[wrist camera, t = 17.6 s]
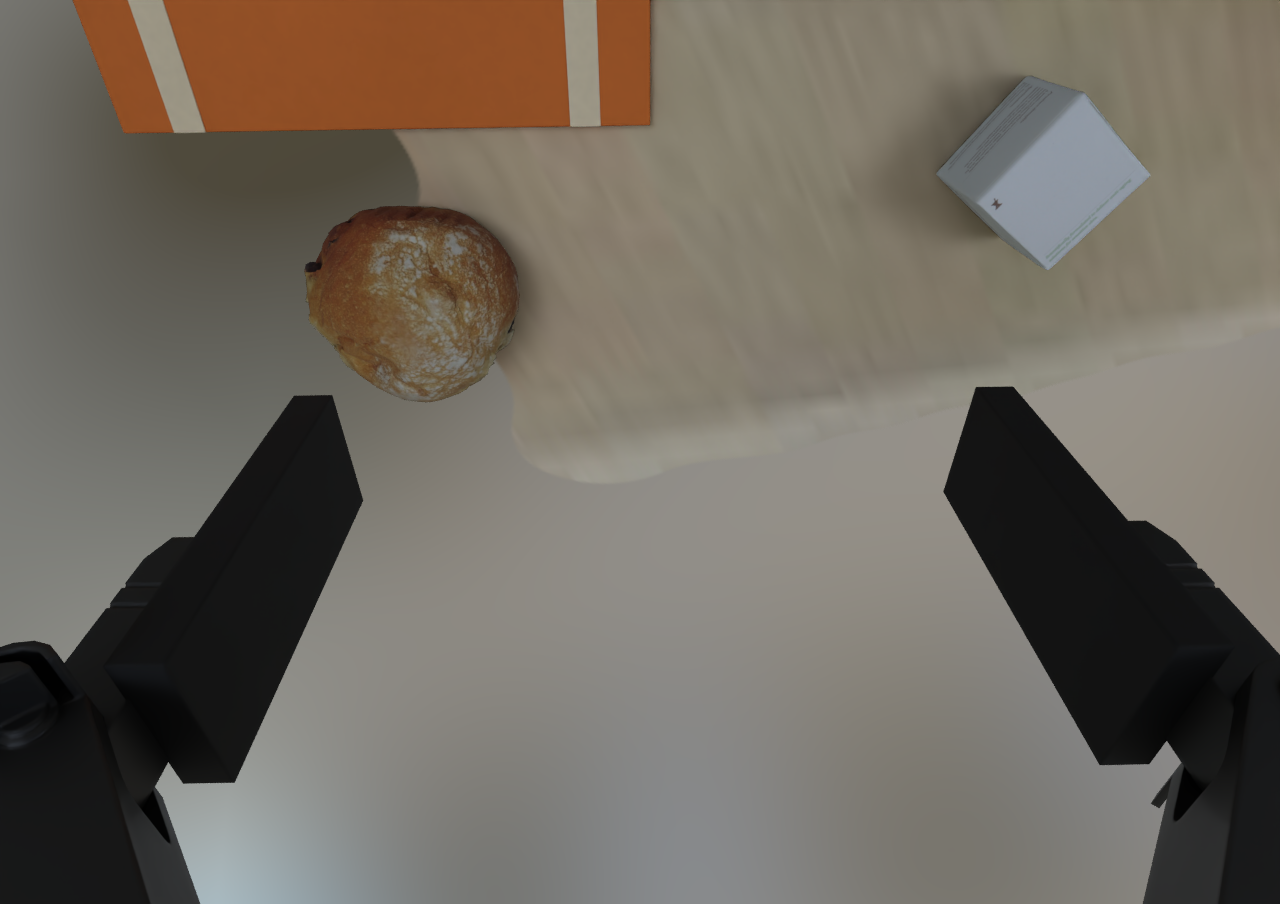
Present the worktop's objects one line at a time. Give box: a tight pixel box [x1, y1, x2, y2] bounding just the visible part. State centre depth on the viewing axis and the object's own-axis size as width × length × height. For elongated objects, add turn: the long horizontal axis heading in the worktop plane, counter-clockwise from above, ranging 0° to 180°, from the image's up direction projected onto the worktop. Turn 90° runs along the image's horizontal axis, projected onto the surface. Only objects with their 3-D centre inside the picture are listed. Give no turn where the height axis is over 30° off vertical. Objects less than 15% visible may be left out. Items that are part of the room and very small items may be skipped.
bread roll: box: [305, 206, 520, 402], centre depth 36 cm, size 10×10×8 cm
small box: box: [936, 76, 1150, 270], centre depth 34 cm, size 6×6×5 cm
